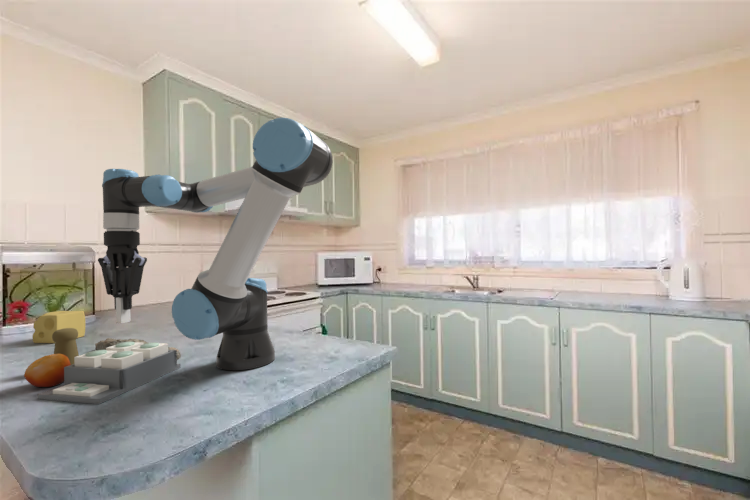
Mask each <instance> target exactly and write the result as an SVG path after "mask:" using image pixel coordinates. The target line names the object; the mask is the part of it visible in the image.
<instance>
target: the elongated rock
mask: <svg viewBox="0 0 750 500" xmlns="http://www.w3.org/2000/svg"><path fill="white" fill-rule="evenodd" d="M123 342H140V343H144V344H146V343H148V342H147V341H146V340H144V339H138V338H129V339H121V338H118V339H116V338H112V337H108V338H106V339H105V340H104V339H103V340H100V341H98V342H96V343H95V344H94V345H95V347H94V348H95V349H94V351H96V350H106V348H107V347H111V346H114V345H116V344H118V343H123ZM168 350H176V351H177V360H179V359H181V356H182V354H181V351H180V350H179V349H178V348H177V347H173V346H168Z"/></svg>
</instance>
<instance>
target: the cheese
mask: <svg viewBox="0 0 750 500" xmlns="http://www.w3.org/2000/svg"><path fill="white" fill-rule="evenodd" d="M64 328H75V329H76V330H77V331H78V337H77V339H78V338H83V337H85V336H86V335H85V334H86V315H85V311H84V310H57V311H51V312H46V313H43V314H42V315H40V316H39V317H38V318H37V320H34V322H33V330H34V332H33V333H32V342H33V343H34V344H55V342H54V341H53V339H52V335H53V333H54V332H55V331H57V330H60V329H64Z"/></svg>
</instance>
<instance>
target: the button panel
mask: <svg viewBox="0 0 750 500" xmlns="http://www.w3.org/2000/svg"><path fill="white" fill-rule="evenodd" d="M181 366H182V365H181V363H178V361H177V351H176V350H168V352H167V353H164V354H162V355H159V356H156V357H154V358H151V359H143V362H140V363H138V364H135V365H132V366H129V367H127V368H124V369H111V368H101V366H98V367H95V368H94V367H76V366H75V364H73V365H70V366H66V367H64V382H63V383H64V384H63V385H61V386H57V387H54V388H52V389H49V390H45V391H43V392H41V393H38V394H37V399H38V400H47V401H48V400H49V401H57V402H68V403H69V402H70V403H71V402H72V403H85V404H95V405H101V404H103V403H104V402H106V401H109V400H112V399H113V398H116V397H118V396H120V395H123V394H124V393H127V392H129V391H132V390H133V389H136V388H138V387H140V386H142V385H145V384H147V383H149V382H151V381H154V380H157V379H158V378H160V377H163V376H165V375H167V374H169V373H171V372H175V371H176V370H178V369H180V368H181Z"/></svg>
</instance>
